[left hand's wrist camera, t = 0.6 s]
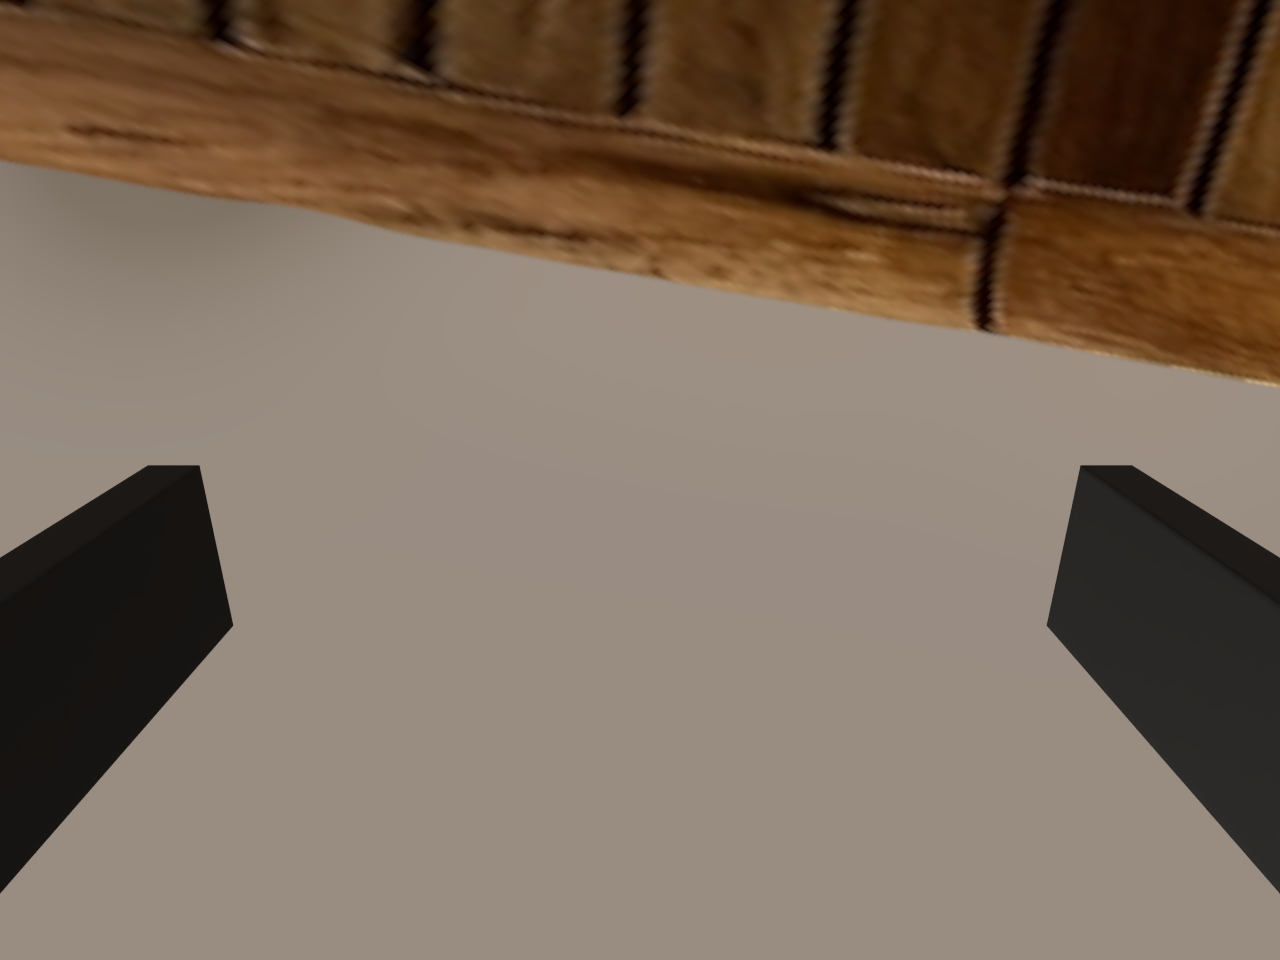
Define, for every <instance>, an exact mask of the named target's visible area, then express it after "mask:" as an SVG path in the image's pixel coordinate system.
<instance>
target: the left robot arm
mask: <svg viewBox="0 0 1280 960" xmlns="http://www.w3.org/2000/svg"><path fill="white" fill-rule="evenodd" d="M232 626H233V622H232V617H231V613H230V608H229V603H228V598H227V594H226V589H225V584H224V580H223V575H222V570H221V565H220V561H219V556H218V551H217V546H216V542H215V537H214V532H213V527H212V523H211V518H210V513H209V509H208V504H207V499H206V494H205V490H204V485H203V480H202V475H201V471H200V466H199V465H148V466H146V467H145V468H143V469H142V470H140V471H138V472H137V473H135V474H134V475H132V476H130V477H129V478H127V479H125V480H124V481H122V482H121V483H119V484H117V485H116V486H114V487H113V488H111V489H109V490H108V491H106V492H105V493H103V494H102V495H100V496H98V497H97V498H95V499H94V500H92V501H90V502H89V503H87V504H85V505H84V506H82V507H81V508H79V509H77V510H76V511H74V512H73V513H71V514H69V515H68V516H66V517H65V518H63V519H62V520H60V521H58V522H57V523H55V524H53V525H52V526H50V527H49V528H47V529H46V530H44V531H42V532H41V533H39V534H37V535H36V536H34V537H33V538H31V539H29V540H28V541H26V542H25V543H23V544H22V545H20V546H18V547H17V548H15V549H13V550H12V551H10V552H9V553H7V554H5V555H4V556H2V557H1V558H0V893H1V892H2V891H3V890H4V888H5V887H6V886H7V885H8V884H9V883H10V882H11V880H12V879H13V878H14V877H15V876H16V875H17V873H18V872H19V871H20V870H21V869H22V868H23V867H24V865H25V864H26V863H27V862H28V861H29V860H30V858H31V857H32V856H33V855H34V854H35V853H36V852H37V850H38V849H39V848H40V847H41V846H42V845H43V844H44V842H45V841H46V840H47V839H48V838H49V837H50V836H51V834H52V833H53V832H54V831H55V830H56V829H57V828H58V826H59V825H60V824H61V823H62V822H63V821H64V819H65V818H66V817H67V816H68V815H69V814H70V813H71V811H72V810H73V809H74V808H75V807H76V806H77V805H78V803H79V802H80V801H81V800H82V799H83V798H84V796H85V795H86V794H87V793H88V792H89V791H90V790H91V788H92V787H93V786H94V785H95V784H96V783H97V782H98V780H99V779H100V778H101V777H102V776H103V775H104V773H105V772H106V771H107V770H108V769H109V768H110V767H111V765H112V764H113V763H114V762H115V761H116V760H117V759H118V757H119V756H120V755H121V754H122V753H123V752H124V751H125V749H126V748H127V747H128V746H129V745H130V744H131V742H132V741H133V740H134V739H135V738H136V737H137V736H138V734H139V733H140V732H141V731H142V730H143V729H144V727H145V726H146V725H147V724H148V723H149V722H150V721H151V719H152V718H153V717H154V716H155V715H156V714H157V713H158V711H159V710H160V709H161V708H162V707H163V706H164V705H165V703H166V702H167V701H168V700H169V699H170V698H171V697H172V695H173V694H174V693H175V692H176V691H177V690H178V688H179V687H180V686H181V685H182V684H183V683H184V682H185V680H186V679H187V678H188V677H189V676H190V675H191V673H192V672H193V671H194V670H195V669H196V668H197V667H198V665H199V664H200V663H201V662H202V661H203V660H204V659H205V657H206V656H207V655H208V654H209V653H210V652H211V651H212V649H213V648H214V647H215V646H216V645H217V644H218V642H219V641H220V640H221V639H222V638H223V637H224V636H225V634H226V633H227V632H228V631H229V630H230V629H231V628H232ZM1047 626H1048V628H1049V629H1050V630H1051V631H1052V632H1053V633H1054V634H1055V636H1056V637H1057V638H1058V639H1059V640H1060V641H1061V642H1062V644H1063V645H1064V646H1065V647H1066V648H1067V649H1068V651H1069V652H1070V653H1071V654H1072V655H1073V656H1074V657H1075V659H1076V660H1077V661H1078V662H1079V663H1080V664H1081V665H1082V667H1083V668H1084V669H1085V670H1086V671H1087V672H1088V674H1089V675H1090V676H1091V677H1092V678H1093V679H1094V680H1095V682H1096V683H1097V684H1098V685H1099V686H1100V687H1101V688H1102V690H1103V691H1104V692H1105V693H1106V694H1107V695H1108V697H1109V698H1110V699H1111V700H1112V701H1113V702H1114V703H1115V705H1116V706H1117V707H1118V708H1119V709H1120V710H1121V711H1122V713H1123V714H1124V715H1125V716H1126V717H1127V718H1128V719H1129V721H1130V722H1131V723H1132V724H1133V725H1134V726H1135V728H1136V729H1137V730H1138V731H1139V732H1140V733H1141V734H1142V736H1143V737H1144V738H1145V739H1146V740H1147V741H1148V742H1149V744H1150V745H1151V746H1152V747H1153V748H1154V749H1155V751H1156V752H1157V753H1158V754H1159V755H1160V756H1161V757H1162V759H1163V760H1164V761H1165V762H1166V763H1167V764H1168V765H1169V767H1170V768H1171V769H1172V770H1173V771H1174V772H1175V774H1176V775H1177V776H1178V777H1179V778H1180V779H1181V780H1182V782H1183V783H1184V784H1185V785H1186V786H1187V787H1188V788H1189V790H1190V791H1191V792H1192V793H1193V794H1194V795H1195V796H1196V798H1197V799H1198V800H1199V801H1200V802H1201V803H1202V804H1203V806H1204V807H1205V808H1206V809H1207V810H1208V811H1209V813H1210V814H1211V815H1212V816H1213V817H1214V818H1215V819H1216V821H1217V822H1218V823H1219V824H1220V825H1221V826H1222V828H1223V829H1224V830H1225V831H1226V832H1227V833H1228V834H1229V836H1230V837H1231V838H1232V839H1233V840H1234V841H1235V842H1236V844H1237V845H1238V846H1239V847H1240V848H1241V849H1242V850H1243V852H1244V853H1245V854H1246V855H1247V856H1248V857H1249V859H1250V860H1251V861H1252V862H1253V863H1254V864H1255V865H1256V867H1257V868H1258V869H1259V870H1260V871H1261V872H1262V873H1263V875H1264V876H1265V877H1266V878H1267V879H1268V880H1269V882H1270V883H1271V884H1272V885H1273V886H1274V887H1275V888H1276V890H1277V891H1278V892H1279V893H1280V558H1279V557H1278V556H1276V555H1275V554H1273V553H1271V552H1270V551H1268V550H1266V549H1265V548H1263V547H1262V546H1260V545H1259V544H1257V543H1255V542H1254V541H1252V540H1251V539H1249V538H1247V537H1246V536H1244V535H1242V534H1241V533H1239V532H1238V531H1236V530H1235V529H1233V528H1231V527H1230V526H1228V525H1227V524H1225V523H1223V522H1222V521H1220V520H1219V519H1217V518H1215V517H1214V516H1212V515H1211V514H1209V513H1207V512H1206V511H1204V510H1203V509H1201V508H1199V507H1198V506H1196V505H1194V504H1193V503H1191V502H1190V501H1188V500H1187V499H1185V498H1183V497H1182V496H1180V495H1178V494H1177V493H1175V492H1174V491H1172V490H1171V489H1169V488H1167V487H1166V486H1164V485H1162V484H1161V483H1159V482H1158V481H1156V480H1154V479H1153V478H1151V477H1150V476H1148V475H1147V474H1145V473H1143V472H1142V471H1140V470H1138V469H1137V468H1135V467H1134V466H1132V465H1081V466H1080V471H1079V475H1078V480H1077V485H1076V490H1075V494H1074V499H1073V504H1072V509H1071V513H1070V518H1069V523H1068V527H1067V532H1066V537H1065V542H1064V546H1063V551H1062V556H1061V561H1060V565H1059V570H1058V575H1057V580H1056V584H1055V589H1054V594H1053V598H1052V603H1051V608H1050V612H1049V617H1048V622H1047Z"/></svg>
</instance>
